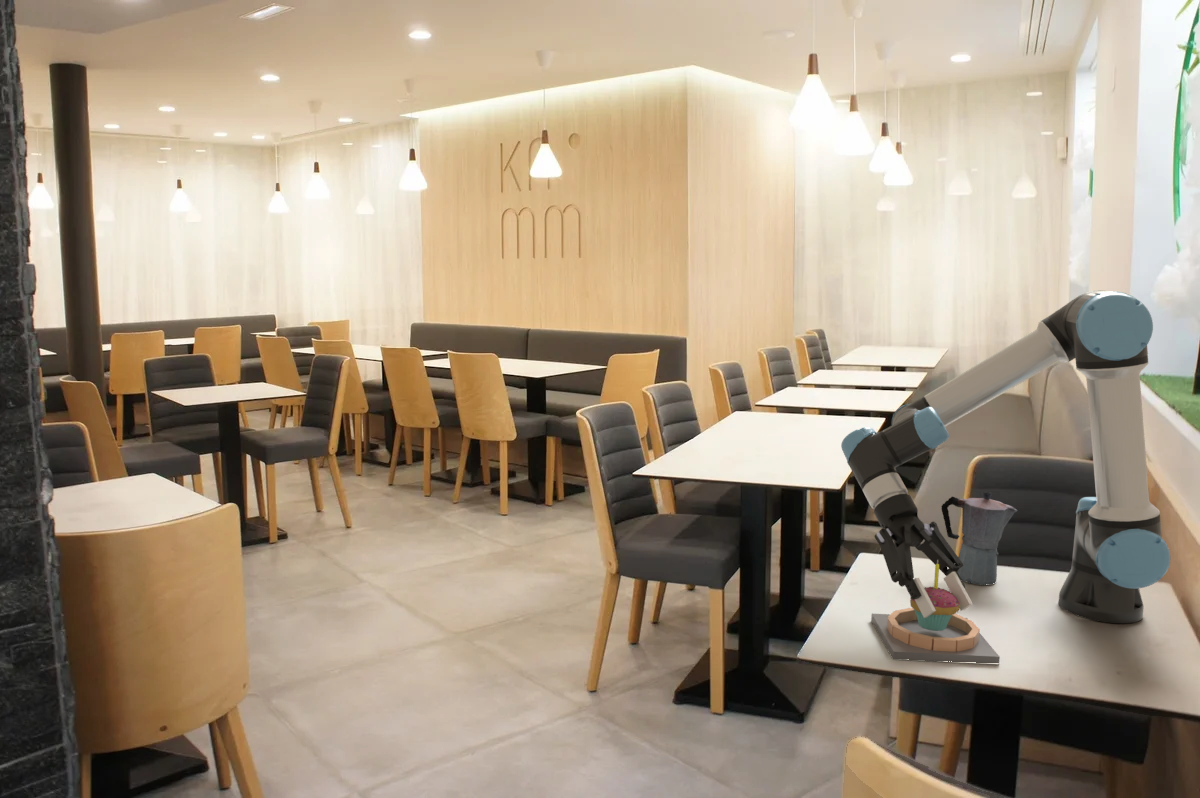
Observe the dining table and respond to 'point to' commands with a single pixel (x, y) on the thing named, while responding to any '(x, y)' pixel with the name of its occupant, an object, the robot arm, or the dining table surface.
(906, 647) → the ring dish
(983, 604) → the dining table surface
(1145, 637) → the dining table surface
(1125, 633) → the dining table surface
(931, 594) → the cupcake
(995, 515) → the moka pot
